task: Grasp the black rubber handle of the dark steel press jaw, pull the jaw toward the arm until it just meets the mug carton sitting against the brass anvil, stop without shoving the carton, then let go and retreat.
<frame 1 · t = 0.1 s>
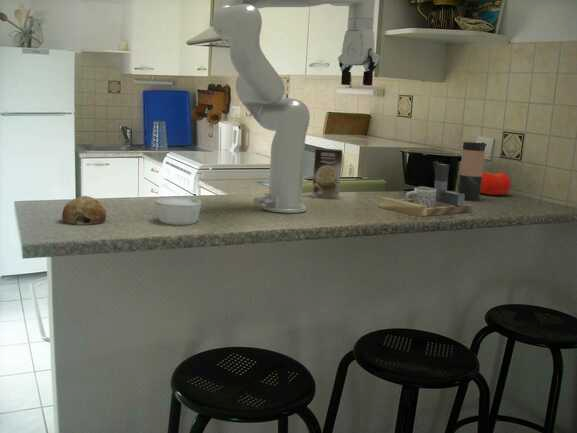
hand: (356, 85, 190), 37 cm above the counter, tool pointing down, fingers open, 9 cm apart
coffee box: (325, 197, 211), on the counter
bread roll: (84, 222, 152), on the counter
travel mug: (468, 200, 224), on the counter
tomato: (491, 195, 241), on the counter
mug: (418, 210, 195), on the counter
jaw: (440, 182, 199), point 8 cm above the counter, slide at 0.0 cm
ramekin: (178, 222, 158), on the counter
press frame: (421, 209, 196), on the counter
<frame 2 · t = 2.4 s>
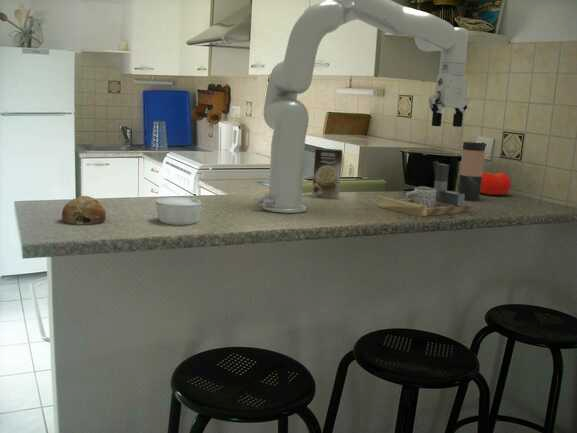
hand: (446, 126, 196), 26 cm above the counter, tool pointing down, fingers open, 9 cm apart
nothing on the counter moved.
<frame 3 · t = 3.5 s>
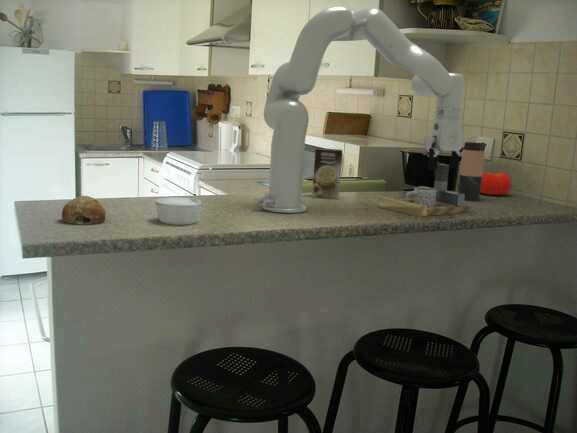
hand: (443, 169, 198), 13 cm above the counter, tool pointing down, fingers open, 9 cm apart
nothing on the counter moved.
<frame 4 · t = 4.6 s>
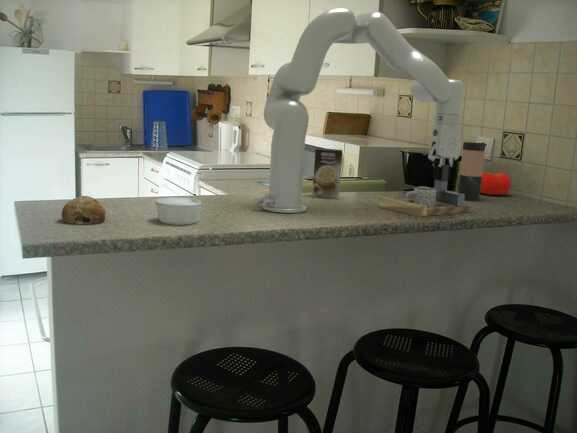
hand: (441, 178, 198), 10 cm above the counter, tool pointing down, fingers closed on jaw, 2 cm apart
jaw: (440, 182, 199), point 8 cm above the counter, slide at 0.0 cm, touching gripper
everything else where it was.
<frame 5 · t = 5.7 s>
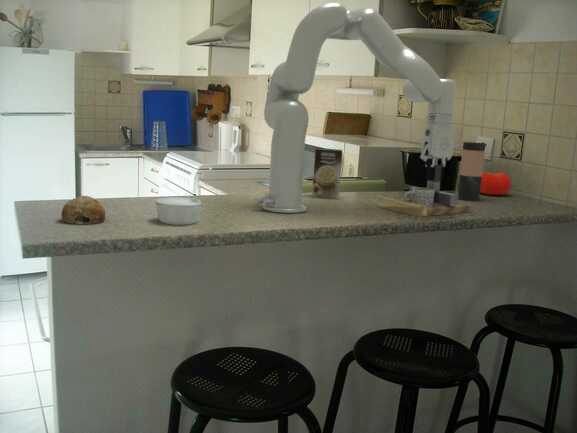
hand: (434, 179, 196), 9 cm above the counter, tool pointing down, fingers closed on jaw, 2 cm apart
mug: (416, 210, 195), on the counter, touching jaw
jaw: (433, 183, 197), point 8 cm above the counter, slide at 3.4 cm, touching gripper, mug
everything else where it was.
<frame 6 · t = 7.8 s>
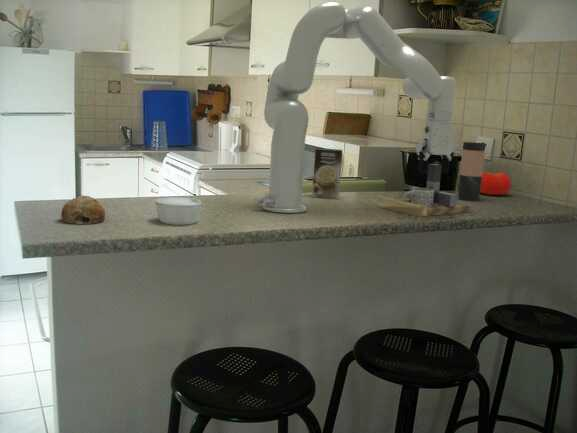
hand: (433, 173, 196), 11 cm above the counter, tool pointing down, fingers open, 9 cm apart
mug: (416, 211, 195), on the counter
jaw: (433, 183, 197), point 8 cm above the counter, slide at 3.5 cm
everything else where it was.
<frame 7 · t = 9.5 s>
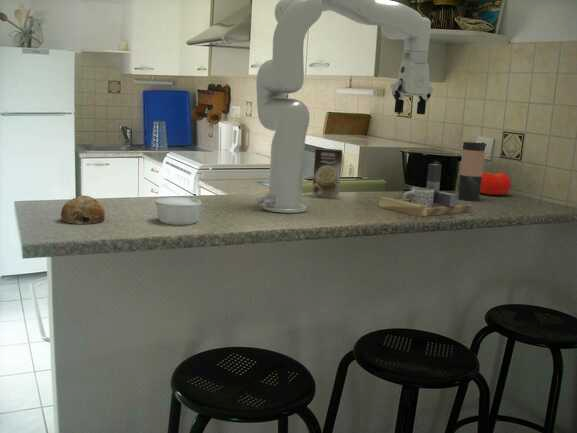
hand: (409, 113, 201), 29 cm above the counter, tool pointing down, fingers open, 9 cm apart
nothing on the counter moved.
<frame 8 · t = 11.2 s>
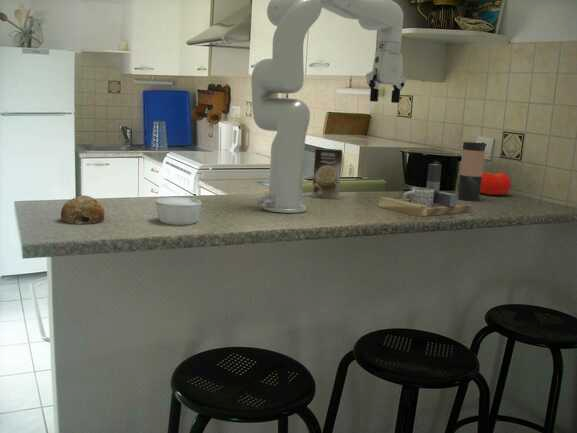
hand: (384, 102, 208), 32 cm above the counter, tool pointing down, fingers open, 9 cm apart
nothing on the counter moved.
at the end: jaw slide at 3.5 cm; mug moved 1.0 cm from its start; mug tilted 0° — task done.
